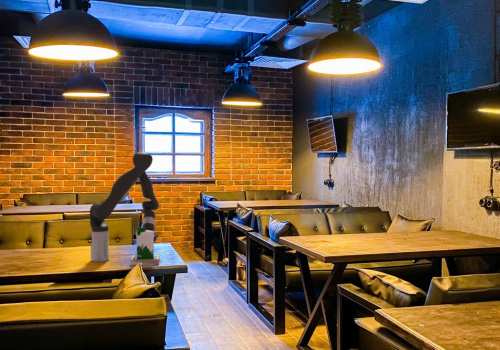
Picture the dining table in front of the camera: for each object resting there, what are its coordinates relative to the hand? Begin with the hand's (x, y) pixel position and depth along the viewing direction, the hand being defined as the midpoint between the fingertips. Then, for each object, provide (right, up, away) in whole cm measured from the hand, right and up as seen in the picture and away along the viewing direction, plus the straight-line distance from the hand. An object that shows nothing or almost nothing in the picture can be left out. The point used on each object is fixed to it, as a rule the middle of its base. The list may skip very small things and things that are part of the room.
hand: (146, 249), depth 296 cm
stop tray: (+3, -5, -16) cm, 17 cm away
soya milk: (+3, -5, -17) cm, 18 cm away
